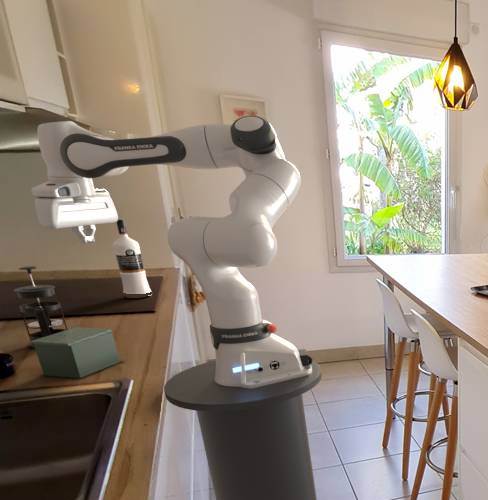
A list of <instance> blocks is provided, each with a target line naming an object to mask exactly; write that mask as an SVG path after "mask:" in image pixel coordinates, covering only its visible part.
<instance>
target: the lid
mask: <svg viewBox="0 0 488 500" xmlns="http://www.w3.org/2000/svg"><path fill="white" fill-rule="evenodd" d="M110 332H112V333H113V330H112V329H111V328H110V329H109V328H97V327H83V326H82V327H81V326H75V327H72V328H69V329H68V330H65V331H62V332H59V333H56V334H52V335H49V336H46V337H43V338H39V339H36V340H33V341H30V340H29V342H30V345H31V344H41V345H55V346H71V345H74V344H77V343H80V342H83V341H86V340H89V339H92V338H95V337H98V336H101V335H104V334H107V333H110Z"/></svg>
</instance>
